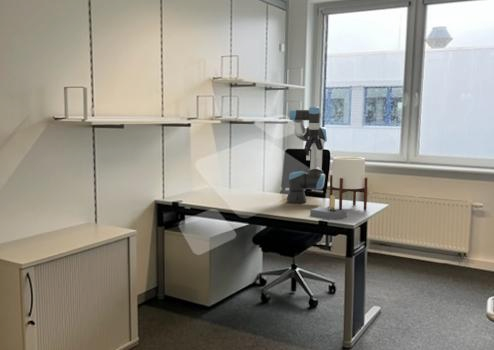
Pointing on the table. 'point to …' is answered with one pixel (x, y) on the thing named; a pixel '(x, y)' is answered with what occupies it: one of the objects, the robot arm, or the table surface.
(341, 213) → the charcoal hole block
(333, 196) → the brass peg
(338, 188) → the plant pot with stand
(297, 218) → the table surface
